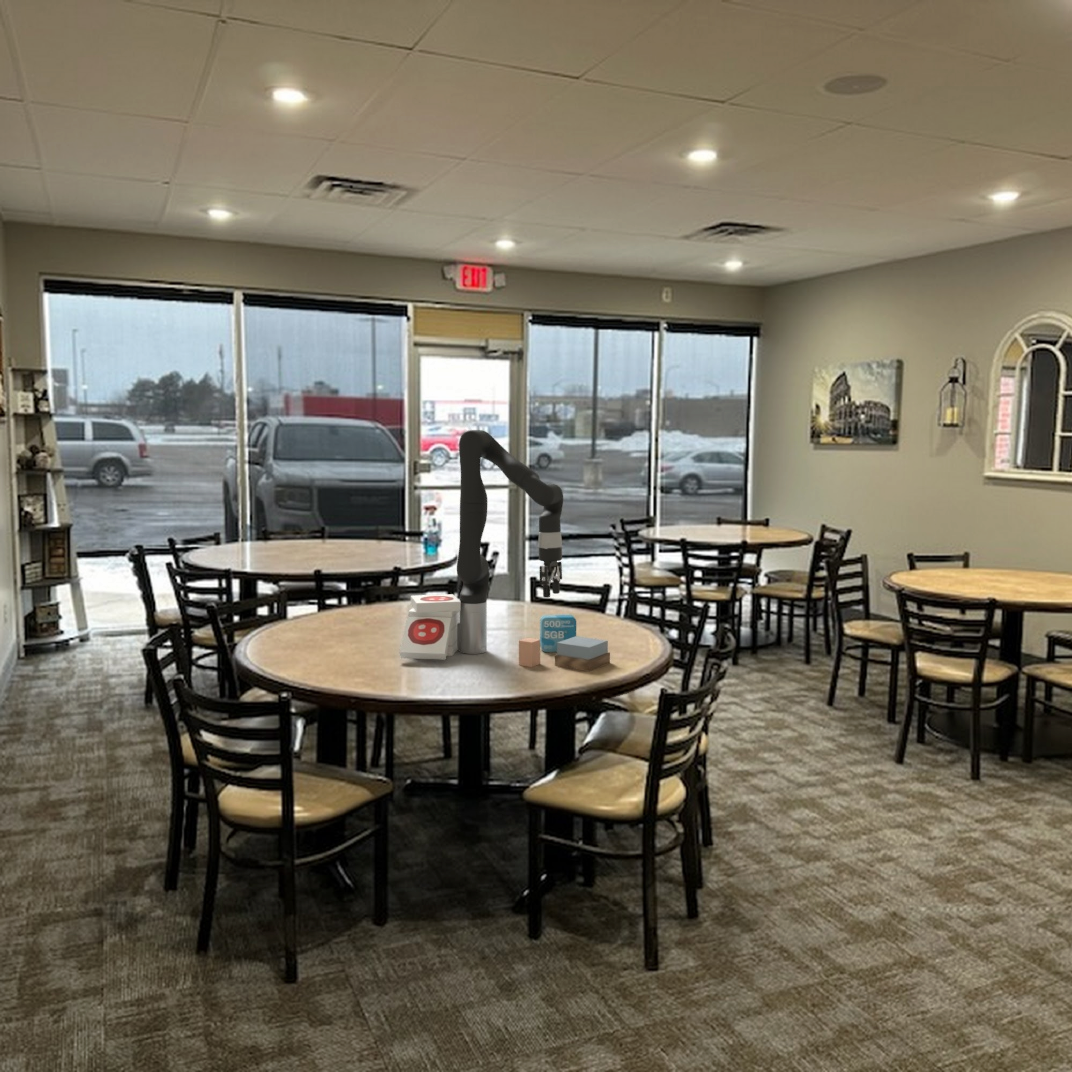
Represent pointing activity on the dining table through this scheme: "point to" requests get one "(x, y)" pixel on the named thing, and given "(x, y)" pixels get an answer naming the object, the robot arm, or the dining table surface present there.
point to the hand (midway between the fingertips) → (551, 595)
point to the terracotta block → (529, 652)
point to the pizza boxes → (431, 627)
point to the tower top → (582, 647)
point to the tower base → (582, 662)
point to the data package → (556, 630)
